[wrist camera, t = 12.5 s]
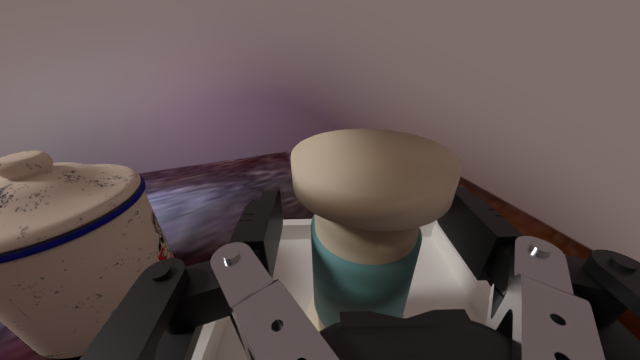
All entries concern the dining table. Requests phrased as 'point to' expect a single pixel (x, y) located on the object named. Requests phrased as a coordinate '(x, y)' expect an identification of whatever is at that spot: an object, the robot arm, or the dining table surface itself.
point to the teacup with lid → (70, 248)
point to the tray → (424, 295)
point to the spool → (369, 214)
